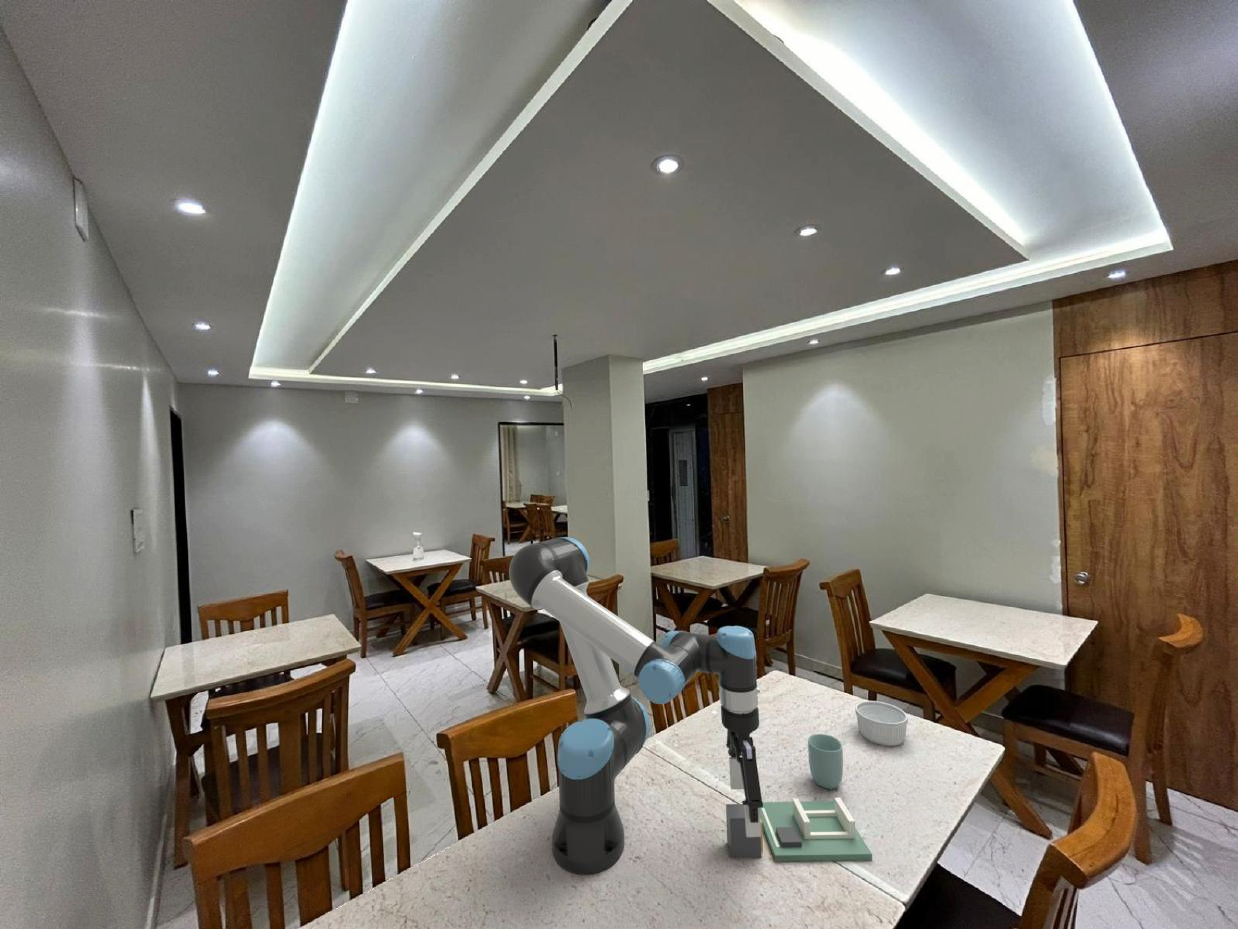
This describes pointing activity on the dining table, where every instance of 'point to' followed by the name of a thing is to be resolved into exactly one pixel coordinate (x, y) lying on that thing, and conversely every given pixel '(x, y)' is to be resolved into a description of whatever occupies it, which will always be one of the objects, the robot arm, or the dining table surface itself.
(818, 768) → the cup
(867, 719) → the ramekin
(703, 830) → the dining table surface
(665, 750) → the dining table surface
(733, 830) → the plug
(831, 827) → the board
